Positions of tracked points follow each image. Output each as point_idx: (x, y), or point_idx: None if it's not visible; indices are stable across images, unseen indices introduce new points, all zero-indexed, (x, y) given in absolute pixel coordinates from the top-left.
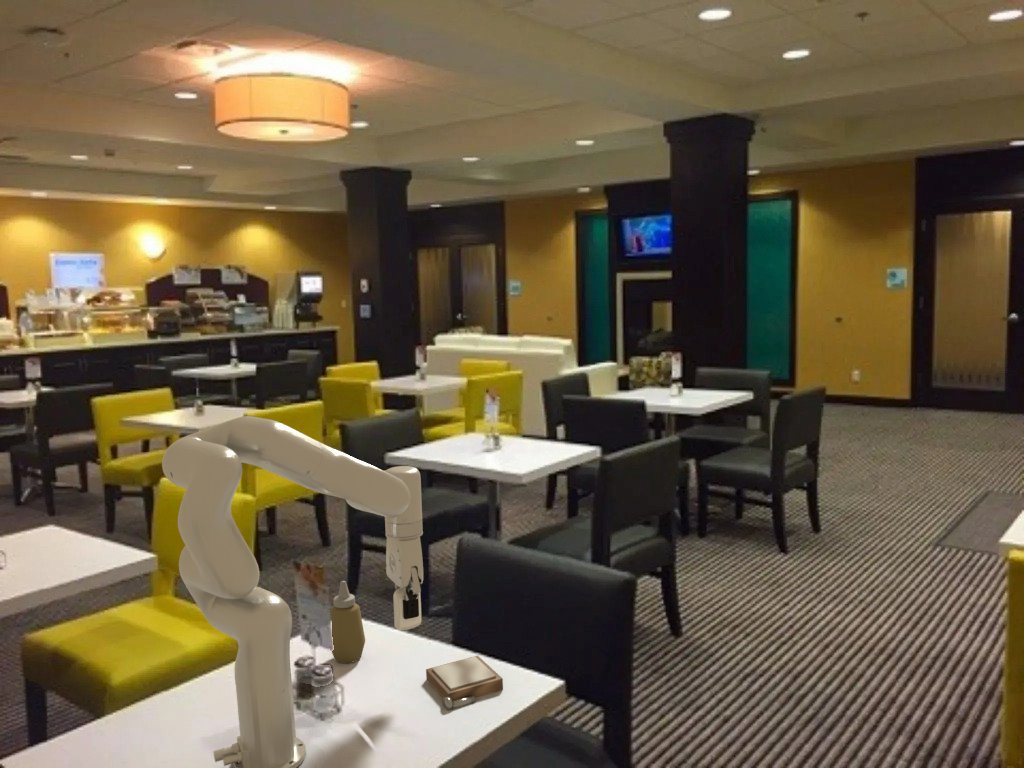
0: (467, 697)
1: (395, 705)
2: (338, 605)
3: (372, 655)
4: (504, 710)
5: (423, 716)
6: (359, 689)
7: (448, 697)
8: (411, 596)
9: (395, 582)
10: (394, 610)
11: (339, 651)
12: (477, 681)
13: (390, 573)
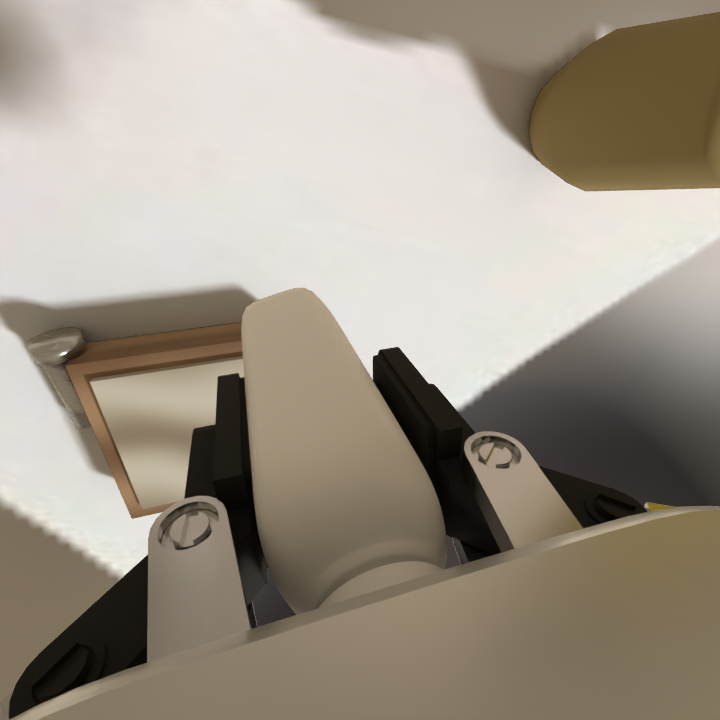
0: (77, 410)
1: (159, 177)
2: None
3: (532, 205)
4: (24, 476)
5: (39, 251)
6: (337, 81)
7: (52, 359)
8: (80, 630)
9: (283, 669)
10: (310, 337)
11: (575, 60)
12: (123, 460)
13: (654, 687)
